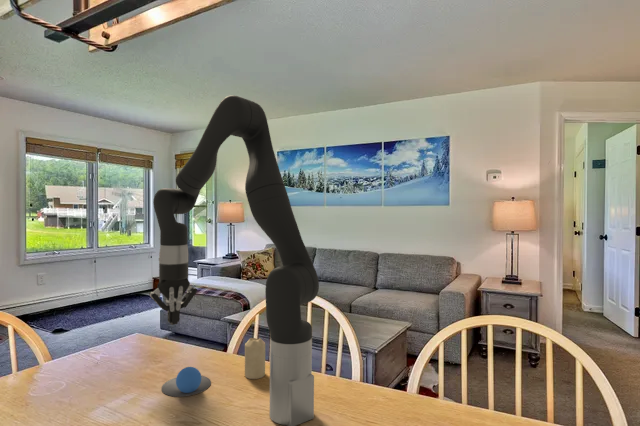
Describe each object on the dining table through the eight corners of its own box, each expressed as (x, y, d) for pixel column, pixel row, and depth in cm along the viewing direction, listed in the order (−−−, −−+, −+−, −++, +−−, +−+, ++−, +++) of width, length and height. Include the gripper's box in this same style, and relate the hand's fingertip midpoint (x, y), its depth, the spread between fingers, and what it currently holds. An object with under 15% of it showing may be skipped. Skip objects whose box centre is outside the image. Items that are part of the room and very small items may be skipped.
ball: (206, 379, 96) (200, 359, 101) (181, 383, 93) (176, 363, 97) (201, 395, 99) (195, 376, 103) (176, 400, 95) (171, 380, 100)
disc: (218, 387, 100) (218, 386, 100) (170, 401, 93) (170, 400, 93) (200, 371, 110) (200, 371, 110) (155, 383, 102) (155, 382, 102)
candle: (267, 371, 111) (267, 335, 110) (262, 379, 105) (262, 342, 105) (247, 370, 111) (248, 335, 111) (242, 378, 106) (242, 341, 105)
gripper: (152, 264, 102) (152, 332, 102) (202, 260, 110) (202, 322, 110) (144, 261, 108) (144, 325, 108) (192, 257, 116) (192, 316, 116)
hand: (173, 323), depth 109 cm, fingers closed
